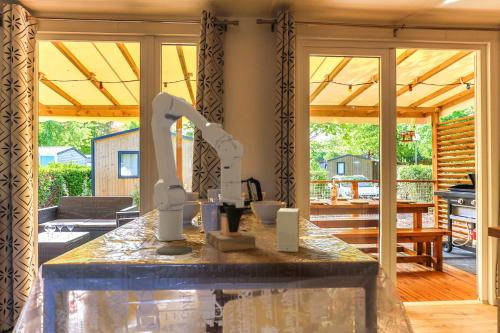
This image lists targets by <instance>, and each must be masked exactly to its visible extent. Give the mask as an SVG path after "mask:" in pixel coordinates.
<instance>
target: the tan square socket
mask: <svg viewBox="0 0 500 333" xmlns="http://www.w3.org/2000/svg"><path fill="white" fill-rule="evenodd" d="M206 236H207V238H206V239H207V240H206V242H207V243H208V244H210V245H211V246H212V247H214V248H215V249H217V250H219V251H220V252H226V251H236V250H237V251H238V250H245V249H256V236H255V235H252V234H250V233H248V232H246V231H243V230H241V229H240V235H237V236H223V235H222V230H215V231H214V230H213V231H207V234H206Z"/></svg>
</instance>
